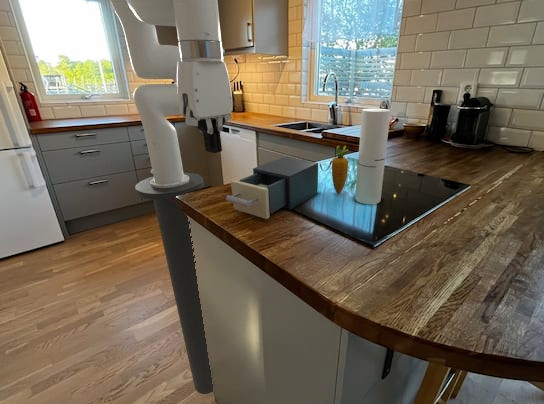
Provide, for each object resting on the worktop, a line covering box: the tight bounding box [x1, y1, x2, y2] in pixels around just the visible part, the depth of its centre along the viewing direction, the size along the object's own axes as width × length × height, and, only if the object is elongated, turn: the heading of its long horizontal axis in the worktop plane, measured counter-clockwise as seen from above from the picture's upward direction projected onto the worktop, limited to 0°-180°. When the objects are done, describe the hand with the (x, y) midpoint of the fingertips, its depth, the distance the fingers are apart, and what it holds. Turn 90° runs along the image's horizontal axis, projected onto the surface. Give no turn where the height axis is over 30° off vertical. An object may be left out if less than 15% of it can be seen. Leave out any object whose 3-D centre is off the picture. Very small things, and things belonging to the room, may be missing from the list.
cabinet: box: [252, 156, 319, 211], centre depth 87 cm, size 15×13×10 cm
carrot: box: [331, 145, 350, 195], centre depth 87 cm, size 5×5×15 cm
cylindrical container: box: [354, 107, 392, 205], centre depth 81 cm, size 7×7×25 cm
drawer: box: [225, 172, 288, 220], centre depth 78 cm, size 18×11×8 cm, turn 146°
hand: (213, 151), depth 62 cm, fingers closed
